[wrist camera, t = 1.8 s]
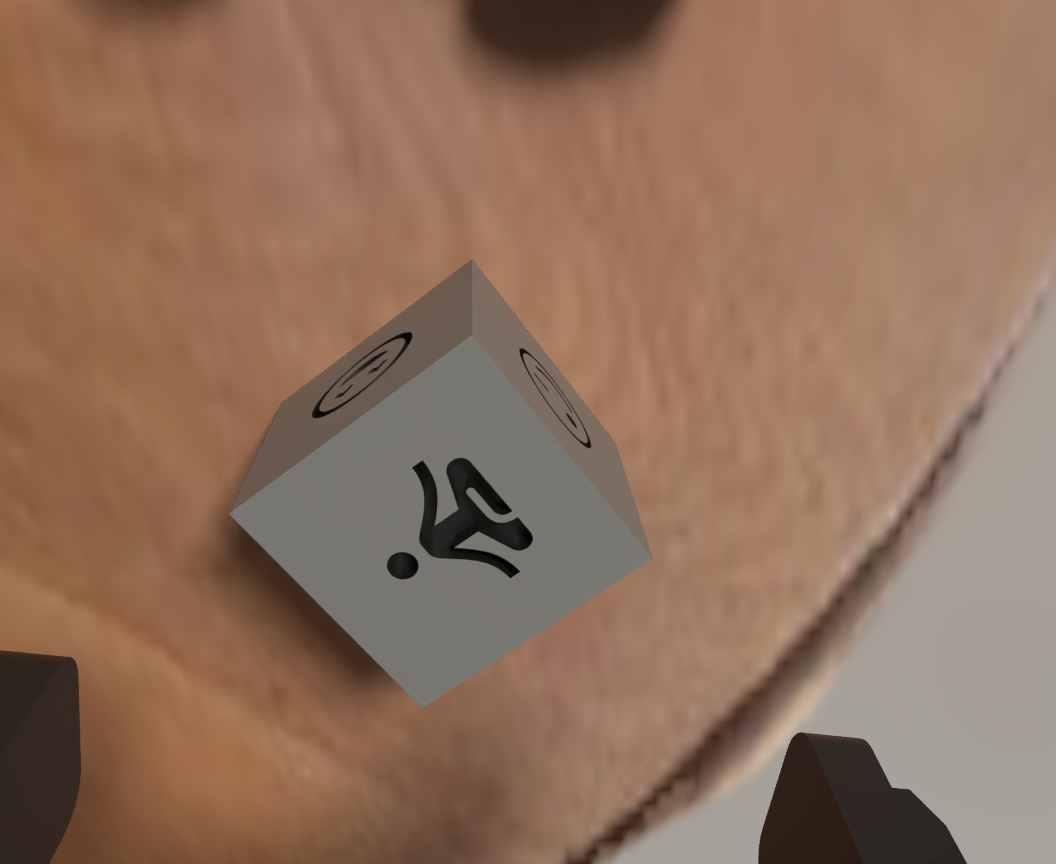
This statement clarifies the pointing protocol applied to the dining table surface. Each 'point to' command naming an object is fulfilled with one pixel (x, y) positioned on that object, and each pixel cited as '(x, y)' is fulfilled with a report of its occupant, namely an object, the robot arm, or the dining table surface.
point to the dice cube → (443, 490)
